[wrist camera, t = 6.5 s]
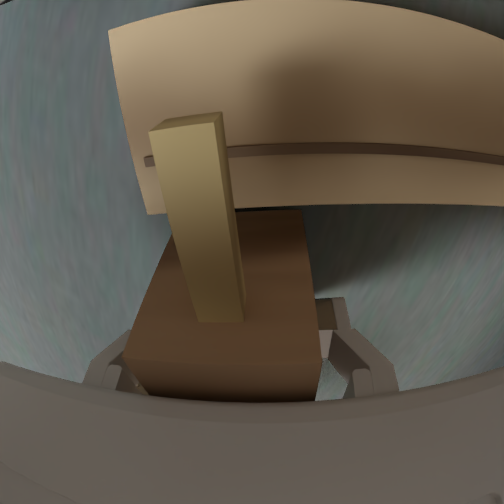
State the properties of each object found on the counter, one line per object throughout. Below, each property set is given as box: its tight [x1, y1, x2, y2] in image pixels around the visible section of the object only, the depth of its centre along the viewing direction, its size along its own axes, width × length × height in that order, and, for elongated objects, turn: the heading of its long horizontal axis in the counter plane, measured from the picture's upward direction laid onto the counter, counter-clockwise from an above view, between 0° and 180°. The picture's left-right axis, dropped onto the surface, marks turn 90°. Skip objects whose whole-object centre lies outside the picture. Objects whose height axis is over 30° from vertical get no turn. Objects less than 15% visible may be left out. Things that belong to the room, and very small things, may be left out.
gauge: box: [122, 111, 322, 403], centre depth 10 cm, size 11×5×7 cm, turn 5°
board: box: [108, 0, 504, 215], centre depth 8 cm, size 6×16×4 cm, turn 95°
